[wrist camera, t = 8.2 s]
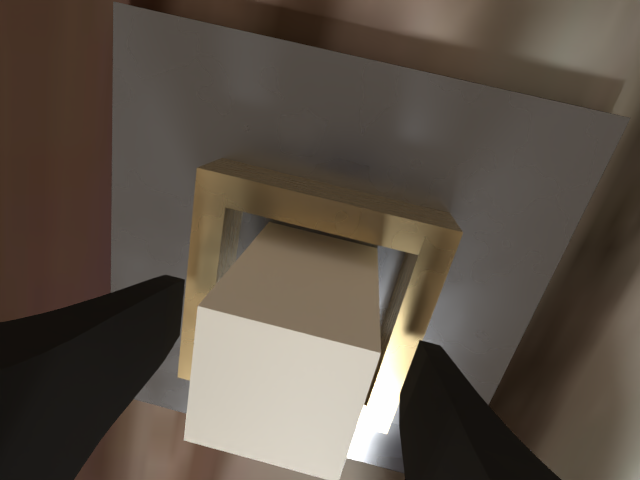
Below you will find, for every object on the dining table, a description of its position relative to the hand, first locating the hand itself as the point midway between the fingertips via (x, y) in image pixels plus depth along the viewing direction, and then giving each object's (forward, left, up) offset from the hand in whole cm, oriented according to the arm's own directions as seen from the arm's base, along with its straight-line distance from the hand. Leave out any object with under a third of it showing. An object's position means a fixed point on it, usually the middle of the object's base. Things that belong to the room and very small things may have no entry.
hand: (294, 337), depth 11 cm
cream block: (0, 0, -3) cm, 3 cm away
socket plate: (0, 0, -4) cm, 4 cm away
